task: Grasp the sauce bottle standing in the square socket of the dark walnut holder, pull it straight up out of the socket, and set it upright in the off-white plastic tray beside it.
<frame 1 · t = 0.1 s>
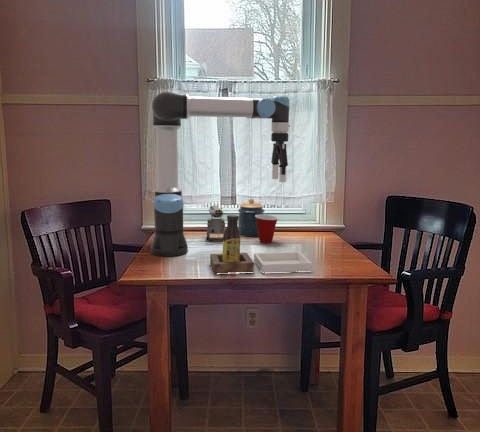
hand: (278, 180, 205), 28 cm above the table, fingers open, 13 cm apart
walnut holder: (231, 268, 167), on the table
canister: (250, 234, 225), on the table
sauce bottle: (231, 269, 167), resting in walnut holder
plastic tray: (281, 266, 170), on the table
plastic cup: (266, 242, 209), on the table
figurine: (216, 239, 215), on the table
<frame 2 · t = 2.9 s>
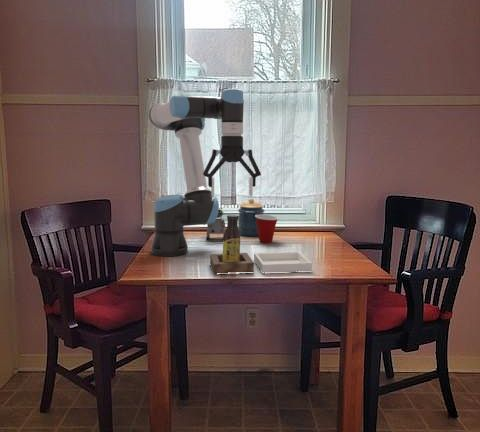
hand: (231, 196, 162), 27 cm above the table, fingers open, 13 cm apart
nothing on the table moved.
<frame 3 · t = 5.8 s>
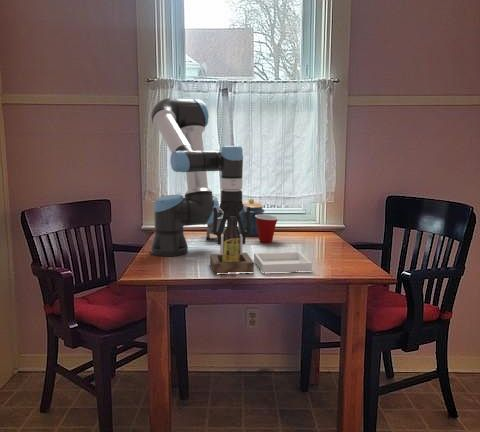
hand: (231, 253, 166), 6 cm above the table, fingers closed on sauce bottle, 6 cm apart
sauce bottle: (231, 269, 167), resting in walnut holder, touching gripper
everything else where it was.
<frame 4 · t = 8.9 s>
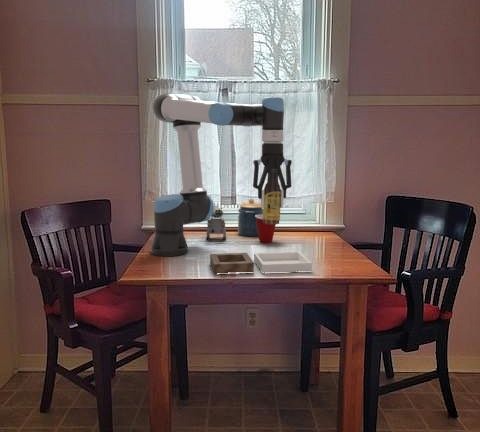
hand: (271, 207, 165), 23 cm above the table, fingers closed on sauce bottle, 6 cm apart
sauce bottle: (271, 224, 166), point 16 cm above the table, touching gripper
everything else where it was.
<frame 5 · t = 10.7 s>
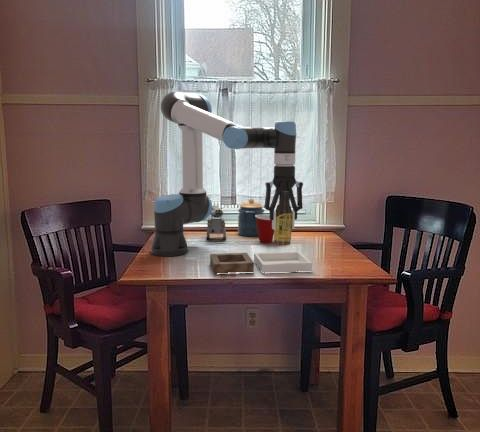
hand: (283, 228, 167), 15 cm above the table, fingers closed on sauce bottle, 6 cm apart
sauce bottle: (282, 244, 168), point 8 cm above the table, touching gripper
everything else where it was.
when the fingers open (8 cm above the table, at t = 12.2 s): sauce bottle drops 2 cm, resting on plastic tray.
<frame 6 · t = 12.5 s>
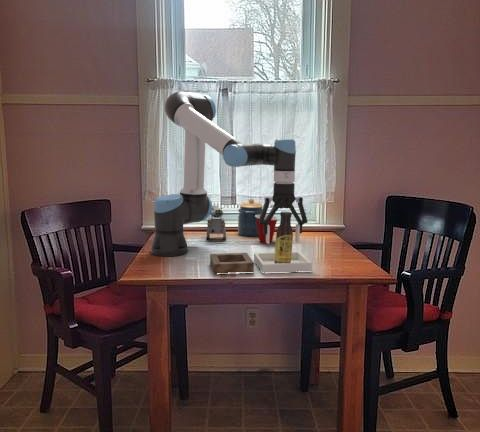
hand: (282, 242, 168), 9 cm above the table, fingers open, 10 cm apart
sauce bottle: (282, 265, 170), point 1 cm above the table, touching plastic tray
everything else where it was.
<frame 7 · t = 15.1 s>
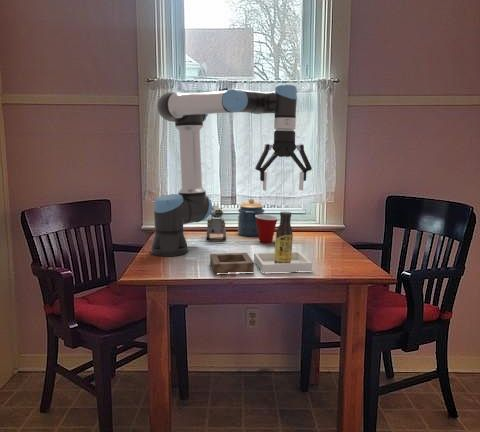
hand: (282, 190, 165), 29 cm above the table, fingers open, 13 cm apart
nothing on the table moved.
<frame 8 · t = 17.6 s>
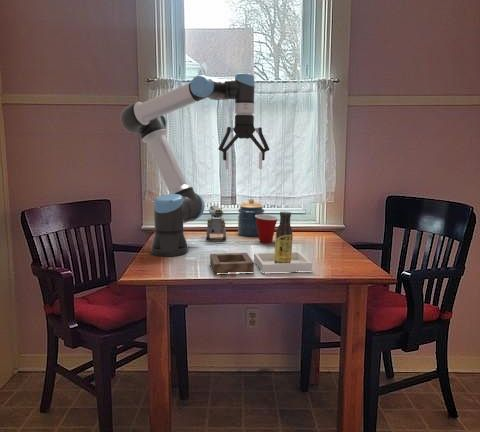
hand: (243, 168, 183), 35 cm above the table, fingers open, 13 cm apart
nothing on the table moved.
at the end: sauce bottle inside the target area on the plastic tray (0.4 cm from its centre), point 0.6 cm above the plastic tray's base; sauce bottle tilted 0°; the gripper is holding nothing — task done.
